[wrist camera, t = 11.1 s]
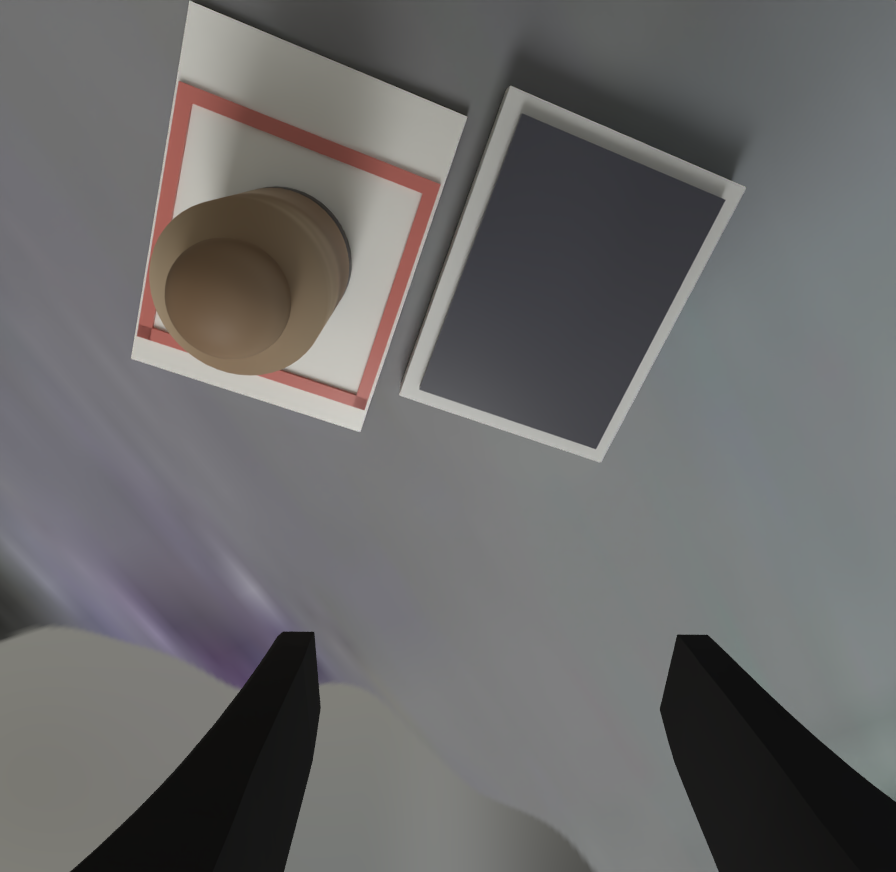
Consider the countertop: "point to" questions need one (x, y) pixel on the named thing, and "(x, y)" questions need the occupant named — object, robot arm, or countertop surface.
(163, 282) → the stamp
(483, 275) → the ink pad
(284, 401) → the sheet
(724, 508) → the countertop surface
